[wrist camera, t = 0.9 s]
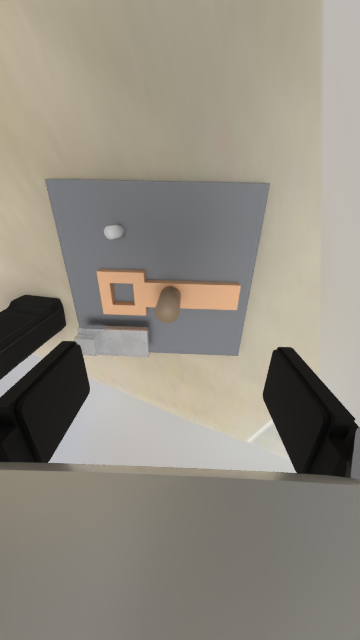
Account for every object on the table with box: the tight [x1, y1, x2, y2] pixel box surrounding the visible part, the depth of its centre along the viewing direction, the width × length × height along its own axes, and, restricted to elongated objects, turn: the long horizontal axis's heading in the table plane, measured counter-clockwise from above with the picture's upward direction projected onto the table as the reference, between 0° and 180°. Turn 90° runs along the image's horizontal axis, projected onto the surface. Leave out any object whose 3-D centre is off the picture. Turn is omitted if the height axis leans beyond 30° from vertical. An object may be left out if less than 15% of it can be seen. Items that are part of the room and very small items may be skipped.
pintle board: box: [45, 179, 270, 356], centre depth 31 cm, size 27×29×5 cm
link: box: [97, 269, 241, 323], centre depth 29 cm, size 22×7×8 cm, turn 89°
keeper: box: [74, 322, 150, 357], centre depth 35 cm, size 5×11×7 cm, turn 89°
